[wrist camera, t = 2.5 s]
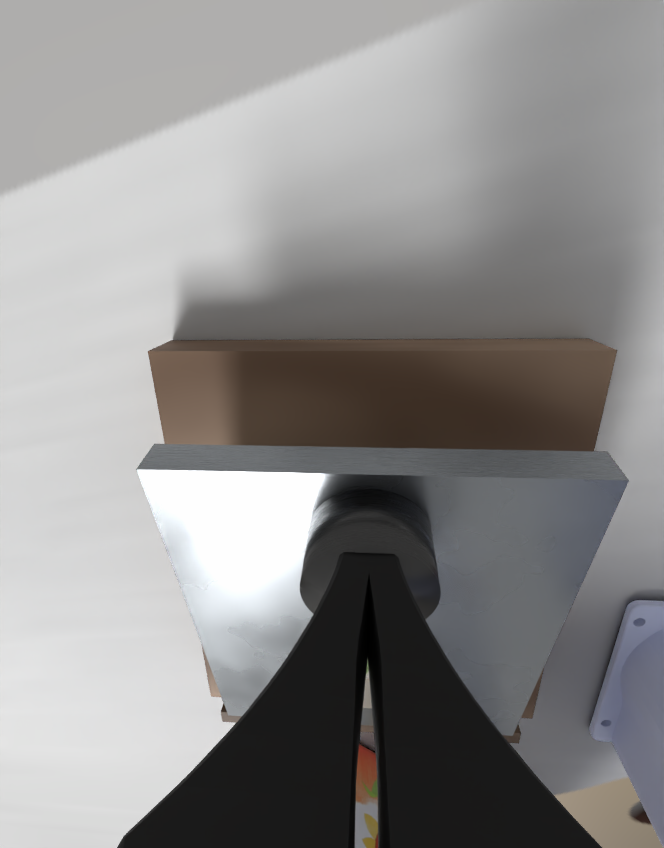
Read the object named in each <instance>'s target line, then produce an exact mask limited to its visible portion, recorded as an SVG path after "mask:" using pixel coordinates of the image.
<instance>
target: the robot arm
mask: <svg viewBox="0 0 664 848" xmlns="http://www.w3.org/2000/svg"><path fill="white" fill-rule="evenodd" d="M367 660H368V668H369V680H370V693H371V705H372V717H373V729H374V741H375V753H376V767H377V787H378V848H602V847H601V846H600V845H599V844H598V843H597V842H596V841H595V840H594V839H593V838H592V837H591V835H590V834H589V833H587V831H586V830H585V829H584V828H583V827H582V826H581V825H580V824H579V823H578V822H577V821H576V820H575V819H574V818H573V816H572V815H571V814H570V813H569V812H568V811H567V810H566V809H565V808H564V807H563V805H562V804H561V803H560V802H559V801H558V800H557V799H556V798H555V796H554V795H553V794H552V793H551V792H550V791H549V790H548V789H547V788H546V786H545V785H544V784H543V783H542V782H541V781H540V780H539V779H538V777H537V776H536V775H535V774H534V773H533V771H532V770H531V769H530V768H529V767H528V765H527V764H526V763H525V762H524V761H523V759H522V758H521V757H520V756H519V754H518V753H517V752H516V751H515V750H514V748H513V747H512V746H511V745H510V744H509V742H508V741H507V740H506V739H505V738H504V736H503V735H502V734H501V733H500V732H499V730H498V729H497V728H496V726H495V725H494V724H493V723H492V721H491V720H490V718H489V717H488V716H487V714H486V713H485V712H484V710H483V709H482V708H481V706H480V705H479V704H478V702H477V701H476V700H475V698H474V697H473V695H472V694H471V693H470V691H469V690H468V688H467V687H466V685H465V684H464V683H463V681H462V680H461V678H460V677H459V675H458V674H457V672H456V671H455V669H454V668H453V666H452V664H451V663H450V661H449V660H448V658H447V656H446V655H445V653H444V652H443V650H442V648H441V647H440V645H439V643H438V642H437V640H436V638H435V636H434V635H433V633H432V631H431V629H430V628H429V626H428V624H427V622H426V620H425V618H424V616H423V614H422V612H421V610H420V609H419V607H418V605H417V603H416V601H415V599H414V596H413V594H412V592H411V590H410V588H409V585H408V583H407V581H406V578H405V576H404V573H403V570H402V568H401V565H400V561H399V558H398V557H397V556H396V555H395V554H384V553H356V552H343V553H342V554H341V555H339V559H338V562H337V565H336V568H335V571H334V573H333V576H332V578H331V580H330V583H329V585H328V587H327V589H326V591H325V593H324V595H323V597H322V599H321V601H320V603H319V605H318V607H317V609H316V611H315V612H314V614H313V616H312V618H311V620H310V621H309V623H308V625H307V626H306V628H305V630H304V631H303V633H302V634H301V636H300V638H299V639H298V641H297V643H296V644H295V646H294V647H293V649H292V651H291V652H290V653H289V655H288V656H287V658H286V659H285V661H284V662H283V664H282V665H281V667H280V668H279V669H278V671H277V672H276V674H275V675H274V676H273V678H272V679H271V680H270V682H269V683H268V684H267V686H266V687H265V688H264V690H263V691H262V692H261V693H260V695H259V696H258V697H257V698H256V700H255V701H254V702H253V703H252V705H251V706H250V707H249V708H248V710H247V711H246V712H245V713H244V714H243V716H242V717H241V718H240V719H239V720H238V722H237V723H236V724H235V725H234V726H233V727H232V728H231V730H230V731H229V732H228V733H227V734H226V735H225V736H224V737H223V738H222V739H221V740H220V741H219V743H218V744H217V745H216V746H215V747H214V748H213V749H212V750H211V751H210V752H209V753H208V754H207V755H206V756H205V758H204V759H203V760H202V761H201V762H200V763H199V764H198V765H197V766H196V767H195V768H194V769H193V770H192V771H191V772H190V773H189V774H188V775H187V776H186V777H185V778H184V779H183V780H182V781H181V782H180V783H179V784H178V785H177V786H176V787H175V788H174V789H173V790H172V791H171V792H170V793H169V794H168V795H167V796H166V797H165V798H164V799H163V800H161V801H160V802H159V803H158V804H157V805H156V806H155V807H154V808H153V809H152V810H151V811H150V812H149V813H148V814H147V815H146V816H145V817H144V818H142V819H141V820H140V821H139V822H138V823H137V824H136V825H135V826H134V827H133V828H132V829H131V830H130V831H129V832H128V833H127V834H126V835H125V836H124V837H123V839H122V840H121V842H120V844H119V845H118V847H117V848H355V810H356V779H357V763H358V752H359V742H360V731H361V721H362V711H363V701H364V691H365V680H366V670H367ZM589 731H590V734H591V736H592V738H593V739H595V740H597V741H603V742H612V744H613V746H614V748H615V750H616V752H617V754H618V756H619V758H620V760H621V762H622V764H623V766H624V768H625V770H626V772H627V774H628V776H629V779H630V780H631V783H632V785H633V786H634V789H635V791H636V793H637V795H638V797H639V799H640V801H641V803H642V805H643V807H644V809H645V811H646V813H647V815H648V817H649V820H650V822H651V824H652V826H653V828H654V830H655V832H656V834H657V836H658V838H659V840H660V842H661V844H662V846H663V848H664V601H651V600H635V601H633V602H631V603H629V604H628V606H627V608H626V611H625V614H624V617H623V620H622V624H621V627H620V630H619V633H618V637H617V640H616V643H615V646H614V649H613V653H612V656H611V659H610V662H609V666H608V669H607V672H606V675H605V679H604V682H603V685H602V688H601V692H600V695H599V698H598V701H597V705H596V708H595V711H594V714H593V718H592V721H591V724H590V727H589Z"/></svg>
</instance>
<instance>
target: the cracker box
mask: <svg viewBox="0 0 664 848" xmlns="http://www.w3.org/2000/svg"><path fill="white" fill-rule="evenodd" d="M355 848H378V787H377V767H376V753H374V752H372V751H370V750H369V749H367V748H365V747H363V746H361V745H360V744H359V752H358V763H357V779H356V810H355Z"/></svg>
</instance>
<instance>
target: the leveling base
mask: <svg viewBox="0 0 664 848" xmlns="http://www.w3.org/2000/svg"><path fill="white" fill-rule="evenodd" d="M616 353H617V350H615V349H613V348H610V347H608V346H605V345H603V344H601V343H598V342H596V341H593V340H591V339H374V340H171V341H169V342H167V343H165V344H163V345H161V346H158V347H156V348H154V349H152V350H150V351H148V354H149V360H150V365H151V371H152V376H153V382H154V387H155V393H156V398H157V404H158V409H159V415H160V420H161V425H162V431H163V436H164V442H165V444H194V445H253V446H311V447H369V448H428V449H486V450H544V451H594V448H595V444H596V440H597V435H598V431H599V427H600V422H601V418H602V414H603V409H604V405H605V401H606V396H607V392H608V388H609V383H610V379H611V375H612V370H613V366H614V362H615V357H616ZM202 649H203V646H202ZM203 655H204V660H205V666H206V671H207V677H208V682H209V688H210V693H211V697H221V695H220V692H219V689H218V687H217V684H216V681H215V679H214V676H213V673H212V670H211V668H210V665H209V662H208V660H207V657H206V654H205V652H204V649H203ZM543 670H544V668H543ZM543 670H542V673H541V675H540V677H539V679H538V681H537V683H536V686H535V688H534V690H533V692H532V694H531V697H530V699H529V701H528V703H527V705H526V708H525V710H524V712H523V714H522V716H521V718H531V719H532V717H533V713H534V709H535V704H536V700H537V696H538V691H539V687H540V683H541V678H542V674H543ZM221 715H222V721H223V722H238V720H239V719H240V718H241V717H242V716H231V715H228V713H227V711H226V708H225V705H224V704H223V707H222V710H221ZM360 732H372V733H374V729H373V726H369V725H361V731H360ZM520 735H521V732H520V729H519V725H517V727H516V730H515V732H514V734H513V736H507V735H503V736H504V738H505V739H506V740H507V741H508V742H509V743H519V740H520Z"/></svg>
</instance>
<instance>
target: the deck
mask: <svg viewBox="0 0 664 848" xmlns="http://www.w3.org/2000/svg"><path fill="white" fill-rule="evenodd" d="M136 470H137V473H138V475H139V478H140V481H141V483H142V486H143V489H144V491H145V494H146V497H147V499H148V502H149V505H150V507H151V510H152V513H153V515H154V518H155V521H156V523H157V526H158V529H159V531H160V534H161V537H162V539H163V542H164V545H165V547H166V550H167V553H168V556H169V558H170V561H171V564H172V566H173V569H174V572H175V574H176V577H177V580H178V582H179V585H180V588H181V590H182V593H183V596H184V598H185V601H186V604H187V606H188V609H189V612H190V614H191V617H192V620H193V622H194V625H195V628H196V630H197V633H198V636H199V638H200V641H201V644H202V646H203V649H204V652H205V654H206V657H207V660H208V662H209V665H210V668H211V670H212V673H213V676H214V679H215V681H216V684H217V687H218V689H219V692H220V695H221V697H222V700H223V703H224V705H225V708H226V711H227V713H228V715H231V716H243V714H244V713H245V712H246V711H247V710H248V708H249V707H250V706H251V705H252V703H253V702H254V701H255V700H256V698H257V697H258V696H259V695H260V693H261V692H262V691H263V690H264V688H265V687H266V686H267V684H268V683H269V682H270V680H271V679H272V678H273V676H274V675H275V674H276V672H277V671H278V669H279V668H280V667H281V665H282V664H283V662H284V661H285V659H286V658H287V656H288V655H289V653H290V652H291V651H292V649H293V647H294V646H295V644H296V643H297V641H298V639H299V638H300V636H301V634H302V633H303V631H304V630H305V628H306V626H307V625H308V623H309V621H310V620H311V618H312V616H313V614H314V612H315V611H316V609H317V607H318V605H319V603H320V601H321V599H322V597H323V595H324V593H325V591H326V589H327V587H328V585H329V583H330V580H331V578H332V576H333V573H334V571H335V568H336V565H337V562H338V559H339V555H341V554H342V553H343V552H356V553H384V554H395V555H396V556H397V557H398V558H399V561H400V565H401V568H402V570H403V573H404V576H405V578H406V581H407V583H408V585H409V588H410V590H411V592H412V594H413V596H414V599H415V601H416V603H417V605H418V607H419V609H420V610H421V612H422V614H423V616H424V618H425V620H426V622H427V624H428V626H429V628H430V629H431V631H432V633H433V635H434V636H435V638H436V640H437V642H438V643H439V645H440V647H441V648H442V650H443V652H444V653H445V655H446V656H447V658H448V660H449V661H450V663H451V664H452V666H453V668H454V669H455V671H456V672H457V674H458V675H459V677H460V678H461V680H462V681H463V683H464V684H465V685H466V687H467V688H468V690H469V691H470V693H471V694H472V695H473V697H474V698H475V700H476V701H477V702H478V704H479V705H480V706H481V708H482V709H483V710H484V712H485V713H486V714H487V716H488V717H489V718H490V720H491V721H492V723H493V724H494V725H495V726H496V728H497V729H498V730H499V732H500V733H501V734H502V735H507V736H513V734H514V732H515V730H516V727H517V725H518V723H519V721H520V719H521V716H522V714H523V712H524V710H525V708H526V705H527V703H528V701H529V699H530V697H531V694H532V692H533V690H534V688H535V686H536V683H537V681H538V679H539V677H540V675H541V673H542V670H543V668H544V666H545V664H546V662H547V659H548V657H549V655H550V653H551V651H552V648H553V646H554V644H555V642H556V640H557V637H558V635H559V633H560V631H561V629H562V626H563V624H564V622H565V620H566V618H567V615H568V613H569V611H570V609H571V607H572V604H573V602H574V600H575V598H576V596H577V593H578V591H579V589H580V587H581V585H582V582H583V580H584V578H585V576H586V574H587V571H588V569H589V567H590V565H591V563H592V560H593V558H594V556H595V554H596V552H597V549H598V547H599V545H600V543H601V541H602V538H603V536H604V534H605V532H606V530H607V527H608V525H609V523H610V521H611V519H612V516H613V514H614V512H615V510H616V508H617V505H618V503H619V501H620V499H621V497H622V494H623V492H624V490H625V488H626V486H627V483H628V481H629V480H628V479H627V477H626V476H625V475H624V473H623V472H622V471H621V469H620V468H619V467H618V465H617V464H616V463H615V461H614V460H613V458H612V457H611V456H610V454H609V453H608V452H603V451H544V450H486V449H428V448H369V447H311V446H253V445H194V444H154V445H153V446H152V448H151V449H150V451H149V452H148V454H147V455H146V456H145V458H144V459H143V461H142V462H141V463H140V465H139V466H138V468H137V469H136ZM361 725H369V726H373V717H372V705H371V693H370V680H369V668H368V660H367V670H366V680H365V691H364V701H363V711H362V721H361Z"/></svg>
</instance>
